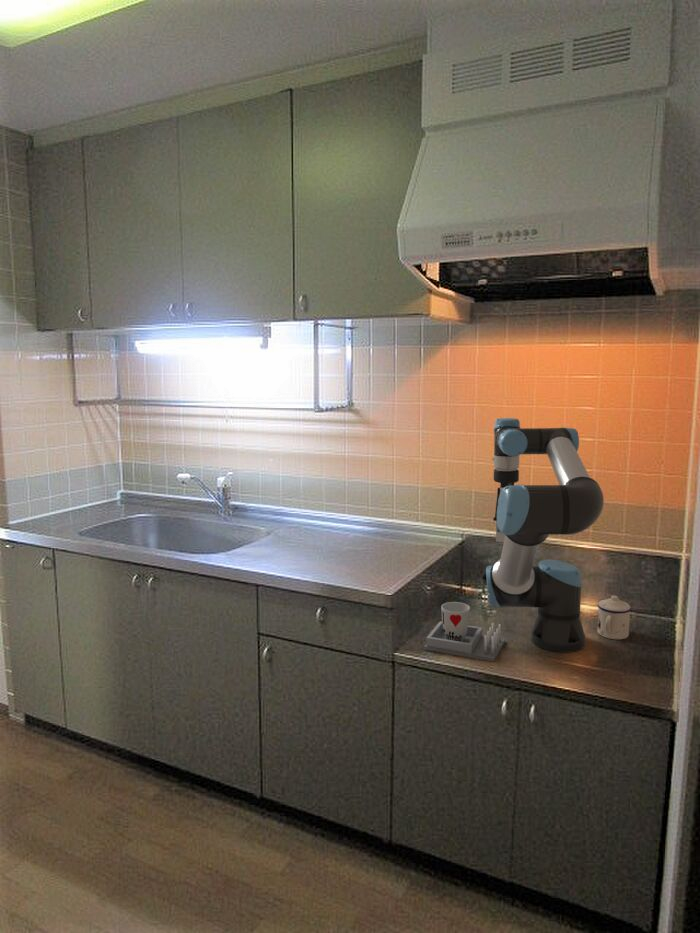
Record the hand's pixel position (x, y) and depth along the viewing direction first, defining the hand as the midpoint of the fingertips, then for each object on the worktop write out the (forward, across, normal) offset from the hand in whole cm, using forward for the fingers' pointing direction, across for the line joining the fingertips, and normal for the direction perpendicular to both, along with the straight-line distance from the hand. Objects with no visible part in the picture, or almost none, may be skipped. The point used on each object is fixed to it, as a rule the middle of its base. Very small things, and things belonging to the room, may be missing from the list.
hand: (505, 536), depth 205 cm
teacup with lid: (+27, +2, +32) cm, 42 cm away
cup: (+26, +24, -9) cm, 37 cm away
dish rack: (+27, +25, -6) cm, 37 cm away
